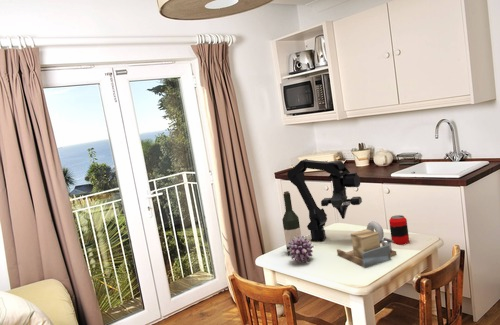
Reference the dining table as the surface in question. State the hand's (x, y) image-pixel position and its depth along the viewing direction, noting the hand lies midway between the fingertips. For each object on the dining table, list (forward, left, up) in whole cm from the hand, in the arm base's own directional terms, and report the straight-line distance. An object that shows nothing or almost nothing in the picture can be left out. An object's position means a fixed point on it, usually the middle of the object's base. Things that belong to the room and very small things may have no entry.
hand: (343, 218), depth 205 cm
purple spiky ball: (-13, -26, -12) cm, 32 cm away
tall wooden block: (+15, -22, -11) cm, 30 cm away
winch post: (+23, -17, -12) cm, 31 cm away
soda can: (+25, +1, -12) cm, 28 cm away
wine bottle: (-21, -15, -12) cm, 28 cm away
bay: (+13, -20, -12) cm, 27 cm away
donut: (+14, +1, -12) cm, 19 cm away
